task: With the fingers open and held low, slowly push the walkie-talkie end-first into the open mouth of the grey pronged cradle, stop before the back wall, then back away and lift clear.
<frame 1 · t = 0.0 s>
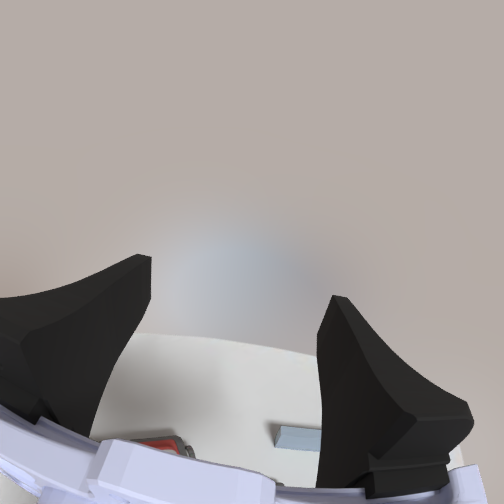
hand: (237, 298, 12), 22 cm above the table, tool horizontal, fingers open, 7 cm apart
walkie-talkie: (166, 487, 21), on the table
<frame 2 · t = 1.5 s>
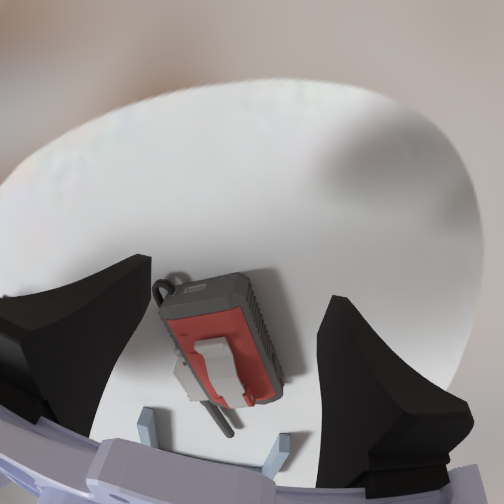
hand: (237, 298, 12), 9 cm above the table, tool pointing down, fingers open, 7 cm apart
grey pronged cradle: (212, 443, 32), on the table
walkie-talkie: (230, 362, 26), on the table
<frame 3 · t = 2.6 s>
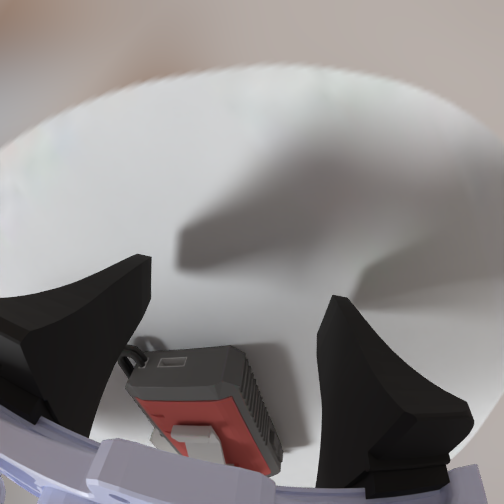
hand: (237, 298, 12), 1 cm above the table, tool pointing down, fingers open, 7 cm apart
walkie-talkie: (219, 428, 20), on the table
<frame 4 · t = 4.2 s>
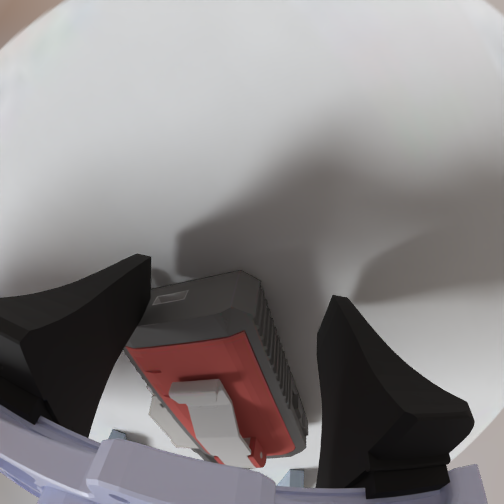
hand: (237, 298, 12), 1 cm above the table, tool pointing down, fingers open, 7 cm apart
grey pronged cradle: (202, 475, 24), on the table
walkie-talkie: (231, 399, 18), on the table, touching gripper
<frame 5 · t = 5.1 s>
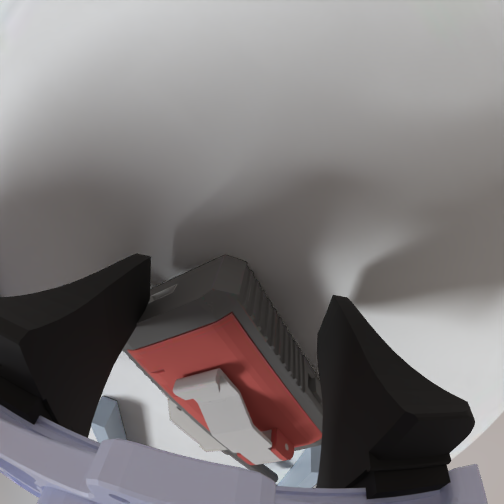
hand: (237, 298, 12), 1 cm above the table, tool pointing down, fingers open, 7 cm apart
grey pronged cradle: (206, 455, 21), on the table
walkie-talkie: (252, 394, 17), on the table
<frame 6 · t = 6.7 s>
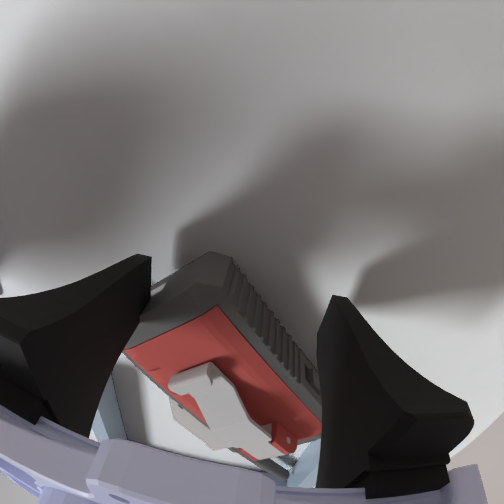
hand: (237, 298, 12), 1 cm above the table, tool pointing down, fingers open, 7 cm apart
grey pronged cradle: (211, 434, 19), on the table
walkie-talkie: (255, 389, 17), on the table
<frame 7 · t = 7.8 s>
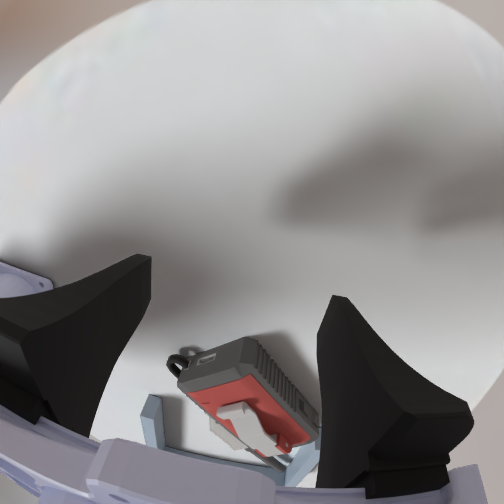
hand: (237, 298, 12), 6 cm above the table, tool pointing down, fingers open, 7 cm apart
grey pronged cradle: (231, 440, 27), on the table
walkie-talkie: (265, 410, 25), on the table
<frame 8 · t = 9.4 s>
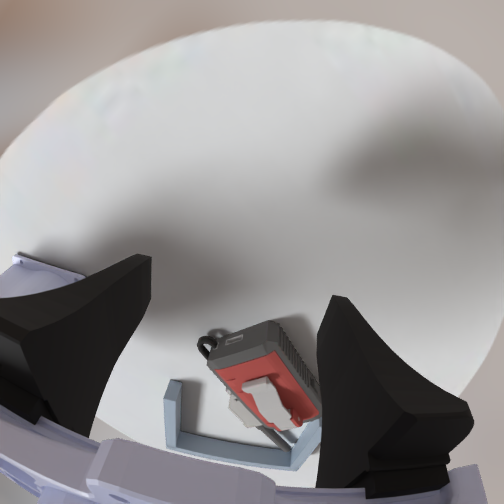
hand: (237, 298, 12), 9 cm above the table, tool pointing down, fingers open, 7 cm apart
grey pronged cradle: (242, 422, 31), on the table
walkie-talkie: (277, 390, 29), on the table
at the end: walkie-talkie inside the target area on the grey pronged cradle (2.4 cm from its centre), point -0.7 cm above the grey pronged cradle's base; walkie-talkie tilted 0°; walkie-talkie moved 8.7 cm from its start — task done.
